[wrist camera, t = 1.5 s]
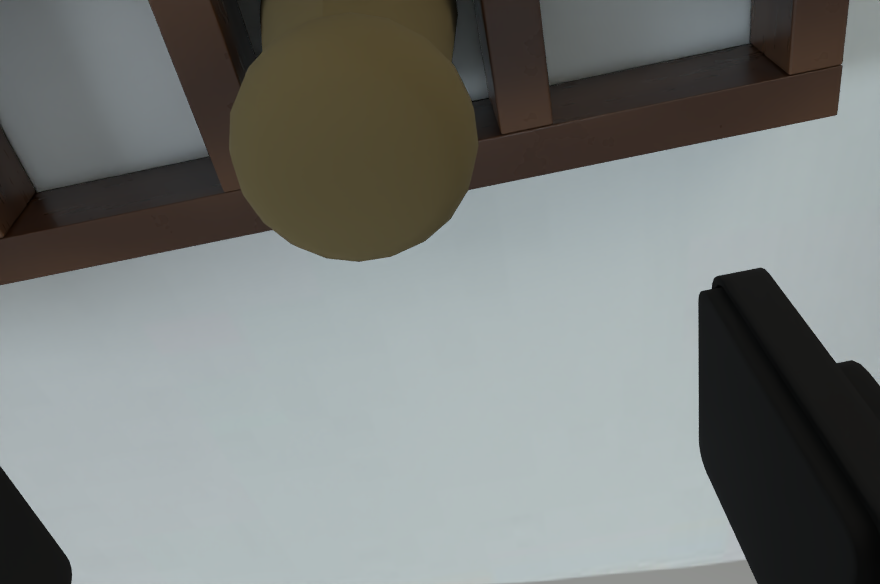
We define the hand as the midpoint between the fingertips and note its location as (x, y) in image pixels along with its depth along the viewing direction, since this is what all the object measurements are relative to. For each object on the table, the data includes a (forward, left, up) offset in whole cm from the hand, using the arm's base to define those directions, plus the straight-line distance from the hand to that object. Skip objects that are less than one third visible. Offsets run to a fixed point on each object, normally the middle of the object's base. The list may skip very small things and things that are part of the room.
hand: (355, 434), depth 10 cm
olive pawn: (0, 0, -18) cm, 18 cm away
